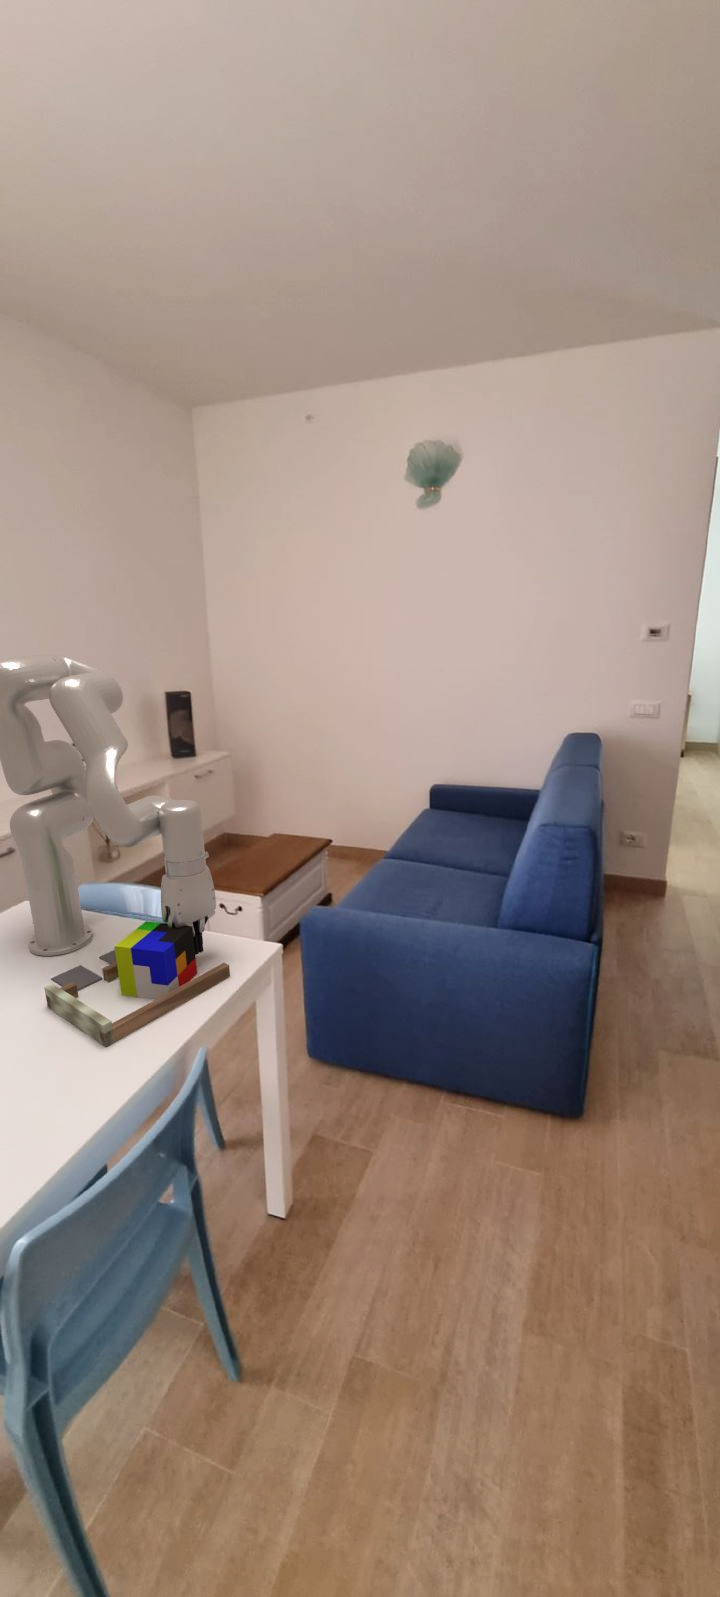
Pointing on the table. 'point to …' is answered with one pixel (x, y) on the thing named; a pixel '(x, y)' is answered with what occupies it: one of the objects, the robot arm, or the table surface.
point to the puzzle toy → (155, 960)
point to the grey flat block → (77, 977)
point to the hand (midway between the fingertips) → (195, 951)
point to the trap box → (111, 1032)
